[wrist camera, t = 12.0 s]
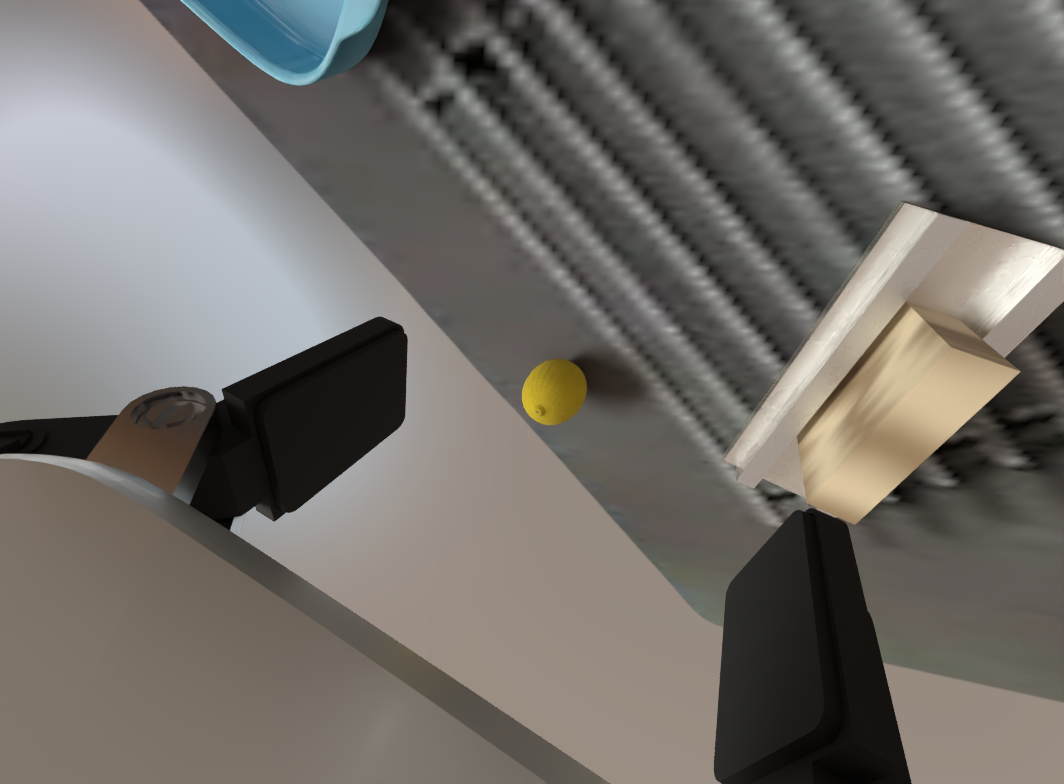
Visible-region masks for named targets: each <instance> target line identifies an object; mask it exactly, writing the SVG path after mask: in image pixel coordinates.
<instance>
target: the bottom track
mask: <svg viewBox="0 0 1064 784" xmlns="http://www.w3.org/2000/svg"><path fill="white" fill-rule="evenodd" d="M905 301H906V302H909V303H912V304H915V305H918V306H921V307H924V308H927V309H930V310H933V311H936V312H939V313H942V314H945V315H948V316H951V317H954V318H957V319H958V320H960V321H961V322H962V323H963V324H964V325H966V326H967V327H968V328H969V329H970V330H971V331H973V332H974V333H975V334H976V335H977V336H979V337H980V338H981V339H982V340H983V341H985V342H986V343H987V344H988V345H989V346H991V347H992V348H993V349H994V350H995V351H997V352H998V353H999V354H1000V355H1001V356H1003V357H1004V358H1005V357H1006V356H1007V355H1008V354H1009V353H1010V352H1011V351H1012V350H1013V349H1014V348H1015V347H1016V346H1017V345H1018V344H1019V343H1020V342H1022V341H1023V340H1024V339H1025V338H1026V337H1027V336H1028V335H1029V334H1030V333H1031V332H1032V331H1033V330H1034V329H1035V328H1036V327H1037V326H1038V325H1039V324H1040V323H1041V322H1042V321H1044V320H1045V319H1046V318H1047V317H1048V316H1049V315H1050V314H1051V313H1052V312H1053V311H1054V310H1055V309H1056V308H1057V307H1058V306H1059V305H1060V304H1061V303H1062V302H1063V301H1064V249H1061V248H1057V247H1054V246H1051V245H1047V244H1044V243H1040V242H1037V241H1034V240H1030V239H1027V238H1023V237H1020V236H1017V235H1013V234H1010V233H1006V232H1003V231H1000V230H996V229H993V228H989V227H986V226H983V225H979V224H976V223H972V222H969V221H966V220H962V219H959V218H955V217H952V216H949V215H945V214H942V213H938V212H935V211H931V210H928V209H925V208H921V207H918V206H914V205H911V204H908V203H904V202H901V201H899V203H898V204H897V205H896V207H895V208H894V210H893V211H892V213H891V214H890V215H889V217H888V218H887V220H886V221H885V223H884V224H883V225H882V227H881V228H880V230H879V231H878V233H877V234H876V236H875V237H874V238H873V240H872V241H871V243H870V244H869V246H868V247H867V248H866V250H865V251H864V253H863V254H862V256H861V257H860V259H859V260H858V261H857V263H856V264H855V266H854V267H853V269H852V270H851V271H850V273H849V274H848V276H847V277H846V279H845V280H844V282H843V283H842V284H841V286H840V287H839V289H838V290H837V292H836V293H835V294H834V296H833V297H832V299H831V300H830V302H829V303H828V305H827V306H826V307H825V309H824V310H823V312H822V313H821V315H820V316H819V317H818V319H817V320H816V322H815V323H814V325H813V326H812V328H811V329H810V330H809V332H808V333H807V335H806V336H805V338H804V339H803V340H802V342H801V343H800V345H799V346H798V348H797V349H796V351H795V352H794V353H793V355H792V356H791V358H790V359H789V361H788V362H787V363H786V365H785V366H784V368H783V369H782V371H781V372H780V374H779V375H778V376H777V378H776V379H775V381H774V382H773V384H772V385H771V386H770V388H769V389H768V391H767V392H766V394H765V395H764V396H763V398H762V399H761V401H760V402H759V404H758V405H757V407H756V408H755V409H754V411H753V412H752V414H751V415H750V417H749V418H748V419H747V421H746V422H745V424H744V425H743V427H742V428H741V430H740V431H739V432H738V434H737V435H736V437H735V438H734V440H733V441H732V442H731V444H730V445H729V447H728V448H727V450H726V451H725V453H724V461H726V462H728V463H731V464H733V465H735V466H737V475H736V481H738V482H740V483H743V484H745V485H747V486H749V487H751V488H753V489H754V488H755V487H756V485H757V484H758V483H759V482H760V481H761V479H762V478H763V479H765V480H767V481H769V482H772V483H774V484H776V485H778V486H780V487H782V488H785V489H787V490H789V491H791V492H793V493H795V494H798V495H800V496H802V497H804V498H806V496H805V489H804V483H803V476H802V469H801V462H800V456H799V449H798V442H797V436H798V435H799V434H800V432H801V431H802V430H803V429H804V427H805V426H806V425H807V424H808V422H809V421H810V420H811V419H812V417H813V416H814V415H815V414H816V412H817V411H818V410H819V409H820V407H821V406H822V405H823V404H824V402H825V401H826V400H827V398H828V397H829V396H830V395H831V393H832V392H833V391H834V390H835V388H836V387H837V386H838V385H839V383H840V382H841V381H842V380H843V378H844V377H845V376H846V375H847V373H848V372H849V371H850V370H851V368H852V367H853V366H854V365H855V363H856V362H857V361H858V360H859V358H860V357H861V356H862V355H863V353H864V352H865V351H866V350H867V348H868V347H869V346H870V345H871V343H872V342H873V341H874V340H875V338H876V337H877V336H878V335H879V334H880V332H881V331H882V330H883V329H884V327H885V326H886V325H887V324H888V322H889V321H890V320H891V319H892V317H893V316H894V315H895V314H896V313H897V311H898V310H899V309H900V308H901V306H902V305H903V304H904V303H905ZM808 505H809V509H810V508H814V509H817V510H819V511H821V512H823V513H826V514H828V515H830V516H832V517H835V518H836V516H834V515H832V514H830V513H828V512H825V511H823V510H821V509H819V508H817V507H815V506H812V505H810V504H808Z"/></svg>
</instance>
